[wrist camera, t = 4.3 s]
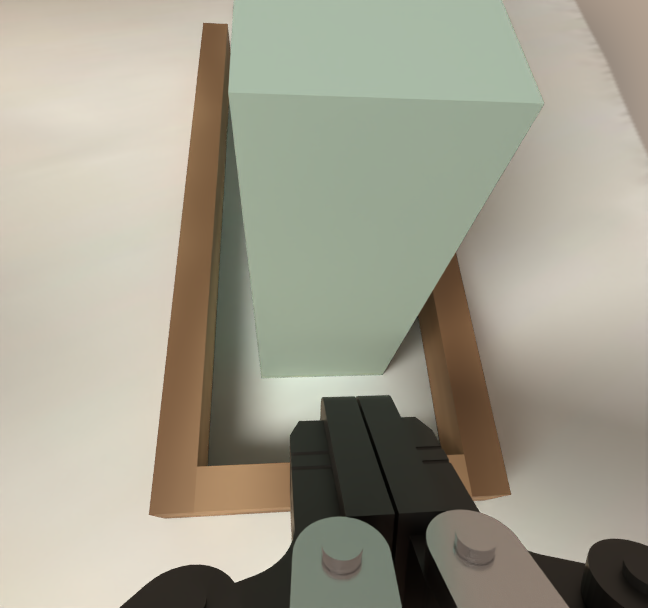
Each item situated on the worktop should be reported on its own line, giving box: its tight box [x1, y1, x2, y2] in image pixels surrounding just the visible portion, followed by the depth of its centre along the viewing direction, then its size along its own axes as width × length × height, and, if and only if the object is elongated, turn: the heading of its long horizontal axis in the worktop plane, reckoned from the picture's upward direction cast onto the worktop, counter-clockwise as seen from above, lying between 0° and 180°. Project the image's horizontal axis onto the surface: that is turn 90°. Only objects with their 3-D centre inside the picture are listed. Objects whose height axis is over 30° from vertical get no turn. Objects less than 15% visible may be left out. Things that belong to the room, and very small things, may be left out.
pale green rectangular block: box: [228, 0, 544, 378], centre depth 16 cm, size 4×18×12 cm, turn 3°
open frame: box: [149, 23, 511, 518], centre depth 19 cm, size 10×22×2 cm, turn 3°
